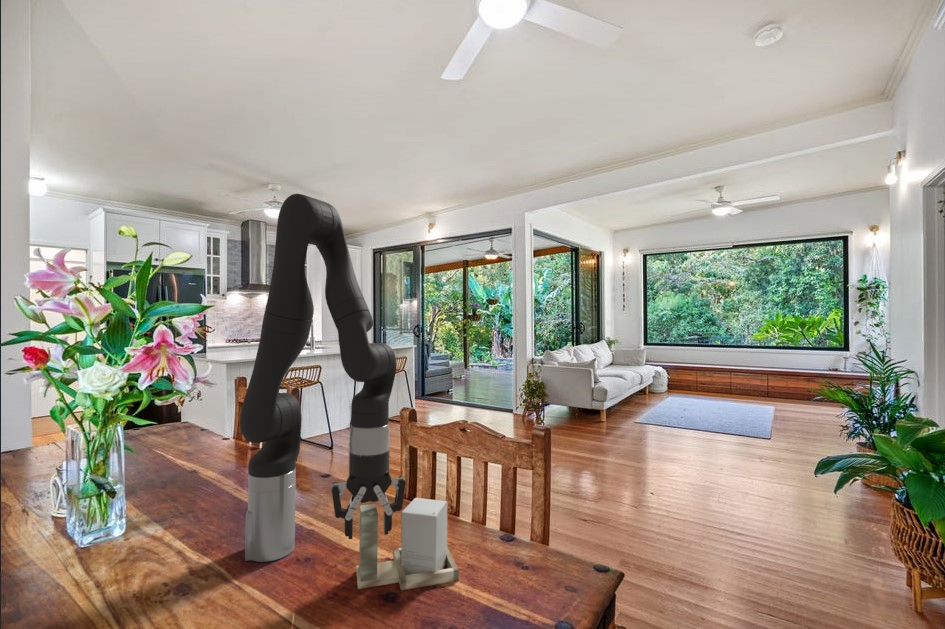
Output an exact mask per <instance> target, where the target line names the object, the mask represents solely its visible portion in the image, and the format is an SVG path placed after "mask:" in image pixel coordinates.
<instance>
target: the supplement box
mask: <svg viewBox="0 0 945 629" xmlns="http://www.w3.org/2000/svg"><path fill="white" fill-rule="evenodd" d="M400 514H401V515H400V517H401V518H400V520H401V522H400V523H401V525H400V526H401V530H400V531H401V537H400V538H401V541H400V542H401V544H400V545H401V546H400V548H401V566H403V568H404V572H405V575H411V574H417V573H424V572H430V571H433V572H436V571H437V570H442V569H445V567H446V566H447V565H446V554H447V546H448V501H446V500H438V499H437V500H436V499H430V498H422V497H415V498H413V500H412V501H411V502H409V504H408V505H407V506H406V507H405V508H404V509H403V510H401V512H400Z"/></svg>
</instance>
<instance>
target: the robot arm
mask: <svg viewBox="0 0 945 629" xmlns="http://www.w3.org/2000/svg"><path fill="white" fill-rule="evenodd" d="M279 209H280V210H279V212H278V217H277V224H276V234H275V245H274V246H275V247H274V255H273V256H274V257H273V266H272V273H271V279H270V284H269V291H268V295H267V300H266V305H265V308H264V313H263V319H262V322H261V323H262V324H261V330H260V331H261V332H260V337H259V343H258V347H257V352H256V356H255V361H254V365H253V369H252V373H251V376H250V379H249V383H248V386H247V389H246V393H245V395H244V399H243V402H242V404H241V405H242V406H241V410H240V415H239V427H240V432H241V435H242V437H243V438H244V439H245V440H246V441H247V442H249V443H251V444H260V443H264V444H263V445H262V447H261V448H260V449H259V450H258V451H257V452H256V453H254V455H252V456H251V457H250V459H249V461H248V464H247V465H248V469H247V470H248V474H247V476H248V477H247V478H248V479H247V480H248V482H247V483H248V484H247V511H246V513H245V525H244V526H245V532H244V534H245V535H244V536H245V538H244V539H245V540H244V541H245V543H244V548H245V549H244V561H245V562H247V561H248V562H249V561H252V562H256V563H257V562H258V563H266V562H272V561H277V560H279V559H282V558H285V557H287V556H288V555H290V554H291V553H292V552H294V550H295V547H296V546H295V545H296V542H295V540H296V479H297V478H296V476H297V475H296V474H297V472H296V471H297V469H296V468H297V467H296V466H297V465H296V464H297V460H298V457H299V455H300V450H301V437H302V436H301V435H302V418H303V417H302V415H303V414H302V409H301V406H300V402H299V401H298V399H297V398H296V397H295V395H293V394H291V393H290V392H280V388H281V385H282V382H283V380H284V378H285V376H286V375H287V372H288V371H289V369H290V367H292V365H294V362H295V361H296V360H297V358H298V357H299V356H300V354H301V353H302V351H303V350H304V348H305V346H306V345H307V342H308V340H309V337H310V332H311V328H312V323H313V319H314V318H313V316H314V313H315V311H314V310H315V308H314V301H313V297H312V293H311V291H310V290H311V289H310V288H309V284H308V280H307V277H306V260H307V259H306V258H307V252H308V248H309V245H312V246H315V247H316V248H317V250H318V251H319V252H318V253H320V255H321V257H322V259H323V262H324V265H325V271H326V273H325V274H326V275H325V277H326V278H325V285H324V286H325V288H324V295H325V296H324V297H325V300H326V305H327V308H328V310H329V313H330V315H331V316H330V317H331V318H332V320H333V323H334V325H335V328H336V330H337V334H338V336H337V337H338V346H339V353H340V360H341V364H342V368H343V369H344V371H345V373H346V374H347V376H348V377H349V378H350V379H352V380H353V381H355V382H358V383H363V386H362V388H361V390H360V391H359V392H357V393H356V394H355V395H354V396H353V397H352V400H351V407H350V410H351V411H350V431H349V437H348V438H349V442H348V447H349V448H348V449H349V450H348V477H347V479H346V481H343V482H337V481H334V482H332V484H331V495H332V500H333V502H332V503H333V512H334V517H335V519H336V518H337V519H340V518H341V519H343V520H344V536H345V537H346V538H347V537H348V538H347V539H348V540H353V532H354V531H353V528H354V527H353V526H354V525H353V524H354V523H353V516H354V514H355V511H356V510H357V509H358V507H359V506H360V503H361V504H365V503H368V502H371V503H372V502H373V503H374V502H380V505H381V506H382V508H383V510H384V511H383V534H384V536H385V535H389V532H392V530H393V529H392V528H393V514H394V513H396V512H400V511H401V512H402V511H403V510H402V509H403V503H404V496H405V490H406V483H407V482H406V479H405V478H404V476H403V475H399V476H398V477H396V476H395V477H392V476H391V474H390V444H391V442H390V440H391V437H390V436H391V434H390V426H389V421H390V420H389V419H390V418H389V415H390V414H389V412H390V408H389V407H390V405H389V404H390V403H389V401H390V399H391V395H392V391H393V386H394V383H395V378H396V373H397V358H396V357H397V356H396V353H395V352H394V350H393V349H392V347H391V346H390V345H389V344H387V343H385V342H369V338H368V332H369V331H370V330H371V329H372V328H373V325H374V318H373V316H372V314H371V312H370V309H369V306H368V304H367V303H366V302H367V301H366V300H365V297H364V295H363V293H362V292H363V291H362V290H361V288H360V284H359V283H358V282H359V281H358V280H357V276H356V274H355V270H354V267H353V266H354V265H353V263H352V262H353V261H352V258H351V254H350V251H349V246H348V242H347V238H346V234H345V229H344V224H343V223H342V219H341V216H340V213H339V212H338V209H336V207H334V206H333V205H332V204H331V203H328V202H326V201H323V200H320V199H317V198H314V197H312V196H308V195H305V194H302V193H293V194H290V195H289V196H287V198H286V199H285V200H284V201H283V203H282V204H281V207H280V208H279ZM391 485H393V488H394V490H395V495H394V502H392V503H390V501H389V499H388V497H387V494H386V492H387V491H388V489H389V488H390V487H391ZM346 489H347V491H349V493H350V494H351V497H350V499H349V502H348V504H347V506H346V508H343V507H342V502H341V496H343V495H344V492H345V490H346Z"/></svg>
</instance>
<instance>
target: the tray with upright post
mask: <svg viewBox="0 0 945 629" xmlns="http://www.w3.org/2000/svg"><path fill="white" fill-rule="evenodd" d="M378 533H379V513H378V509H377V503H372V504H370V503H369V504H362V505H359V558H358V560H359V561H358V565H356V567H355V568H356V582H357V589H358V590H360V589H367V588H372V587H378V586H385V585H391V584H396V583H397V584H399V585H398V586H399V588H400V591H404V590H405V591H406V590H411V589H417V588H423V587H428V586H429V587H430V586H434V585H440V584H445V583H446V584H447V583H451V582H457V581H460V580H459V579H460V576H459V574H460V570H459V568H458V565H457V563H456V561H455V559H454V557H453V555H452V553H451V551H450V549H449V547H448V545H447V554H446V565H445V566H446V568H444V569H442V570H437V571H436V572H433V571H430V572H424V573H417V574H411V575H405V572H404V568H403V566H401V547H396V548H395V547H394V548H393V552H392V554H393V555H392V556H393V558H392V559H393V560H387V561H378V553H379V552H378V551H379V550H378V543H379V542H378V540H379V534H378Z"/></svg>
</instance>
